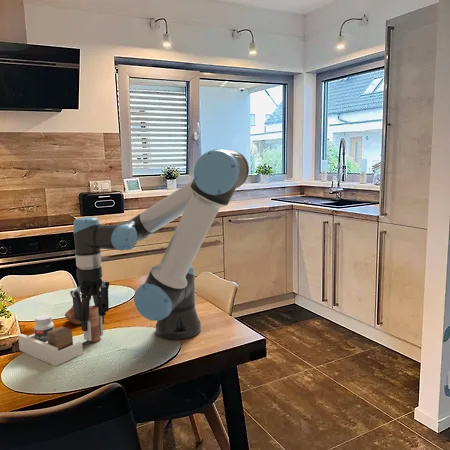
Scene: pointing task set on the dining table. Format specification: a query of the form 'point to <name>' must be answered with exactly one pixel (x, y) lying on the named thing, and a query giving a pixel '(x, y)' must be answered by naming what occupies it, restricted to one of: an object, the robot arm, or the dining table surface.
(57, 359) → the white open tray
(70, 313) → the fossil
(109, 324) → the dining table surface
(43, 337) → the pill bottle
